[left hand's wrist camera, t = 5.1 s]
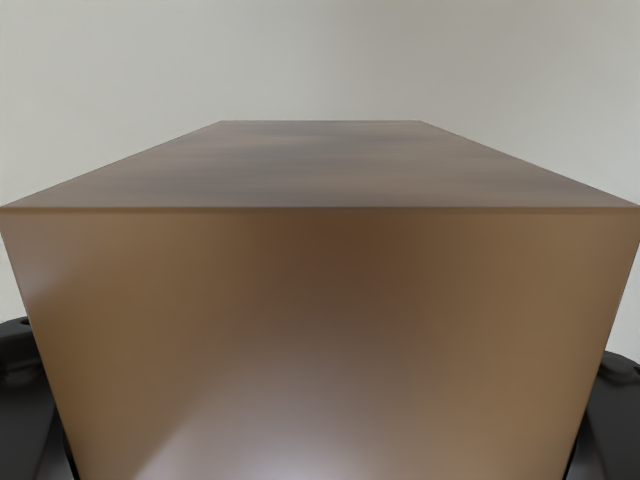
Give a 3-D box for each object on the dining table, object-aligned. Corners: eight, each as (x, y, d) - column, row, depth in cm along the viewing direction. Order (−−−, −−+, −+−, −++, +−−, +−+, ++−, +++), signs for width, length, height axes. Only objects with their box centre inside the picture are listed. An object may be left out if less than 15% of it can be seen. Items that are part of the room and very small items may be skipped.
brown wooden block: (421, 120, 15) (654, 207, 5) (402, 322, 18) (512, 638, 8) (219, 120, 15) (-11, 208, 5) (237, 322, 18) (129, 639, 8)
